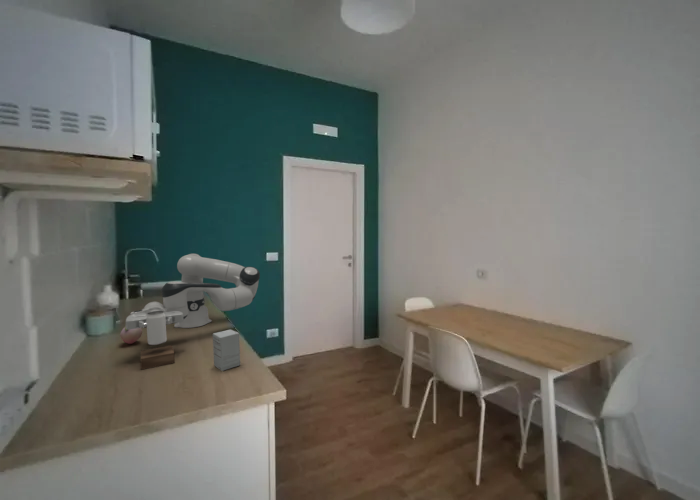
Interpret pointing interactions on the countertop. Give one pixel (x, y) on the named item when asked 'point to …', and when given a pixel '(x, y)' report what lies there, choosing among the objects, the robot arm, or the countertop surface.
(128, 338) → the decorative fruit
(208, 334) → the countertop surface
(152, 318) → the can
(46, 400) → the countertop surface
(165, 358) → the walnut base
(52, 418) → the countertop surface
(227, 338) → the supplement box
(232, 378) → the countertop surface
